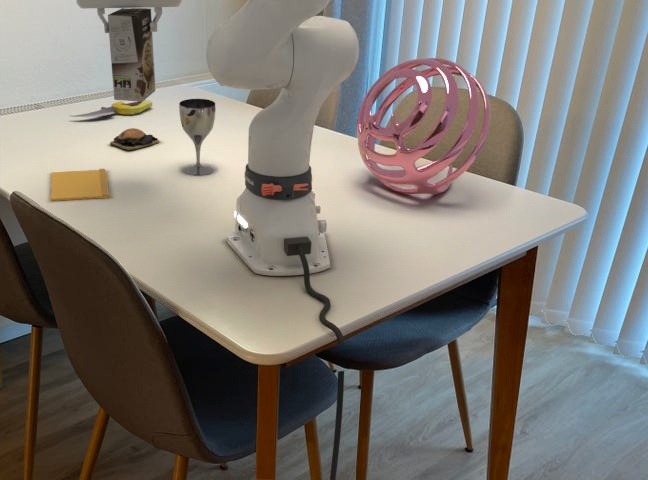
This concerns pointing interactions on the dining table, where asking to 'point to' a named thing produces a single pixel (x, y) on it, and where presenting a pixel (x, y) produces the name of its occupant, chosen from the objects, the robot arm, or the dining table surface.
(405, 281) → the dining table surface
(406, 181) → the spiral basket
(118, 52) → the coffee box
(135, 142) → the open sandwich
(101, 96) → the dining table surface
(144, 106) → the knife
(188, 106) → the wine glass
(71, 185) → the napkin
